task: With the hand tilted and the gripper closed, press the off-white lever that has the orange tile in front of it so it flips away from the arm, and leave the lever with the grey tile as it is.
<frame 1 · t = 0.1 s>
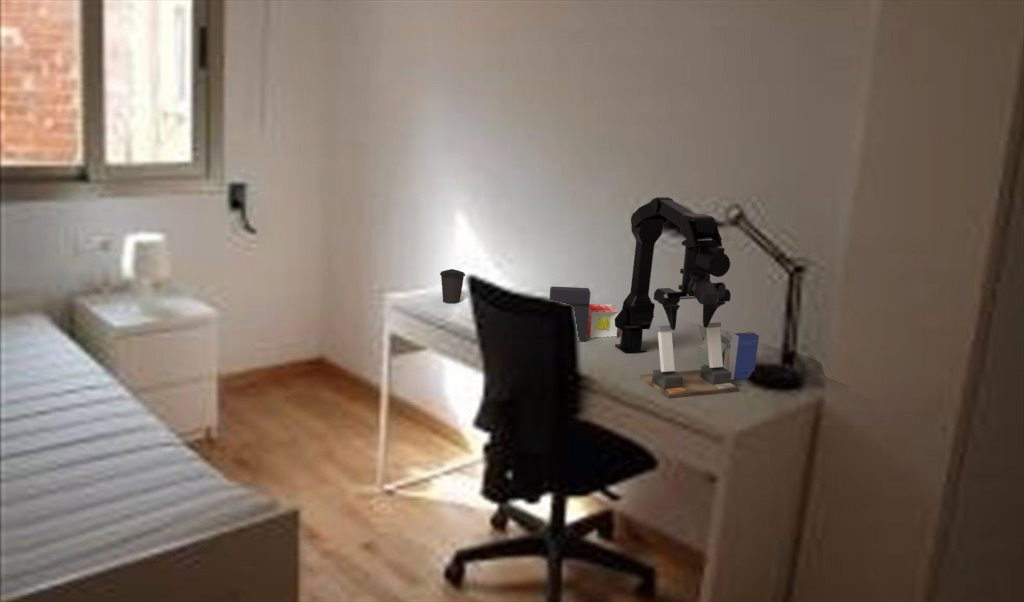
hand: (689, 328, 235), 15 cm above the table, tool pointing down, fingers open, 9 cm apart
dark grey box: (566, 340, 270), on the table
coffee cup: (451, 302, 302), on the table
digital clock: (719, 365, 256), on the table
switch board: (688, 384, 239), on the table
lever b: (714, 345, 240), point 10 cm above the table, hinge at -20.0°
lever a: (666, 348, 234), point 10 cm above the table, hinge at -20.0°
red and white cube: (599, 334, 277), on the table
walkman: (737, 378, 246), on the table
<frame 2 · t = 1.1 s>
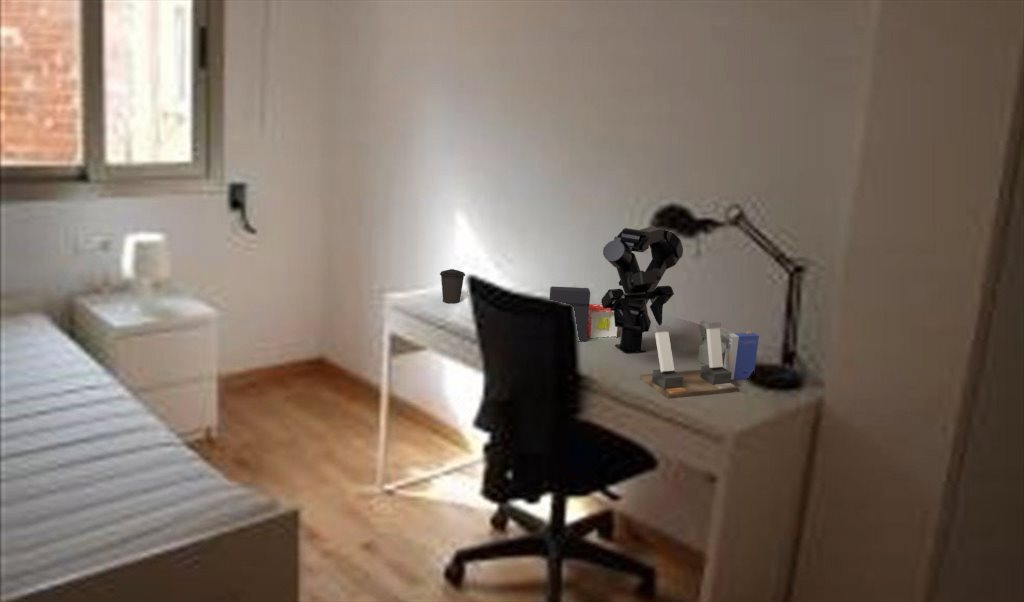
hand: (647, 325, 243), 12 cm above the table, tool tilted 45°, fingers open, 8 cm apart
lever a: (664, 348, 235), point 9 cm above the table, hinge at -28.2°
everything else where it was.
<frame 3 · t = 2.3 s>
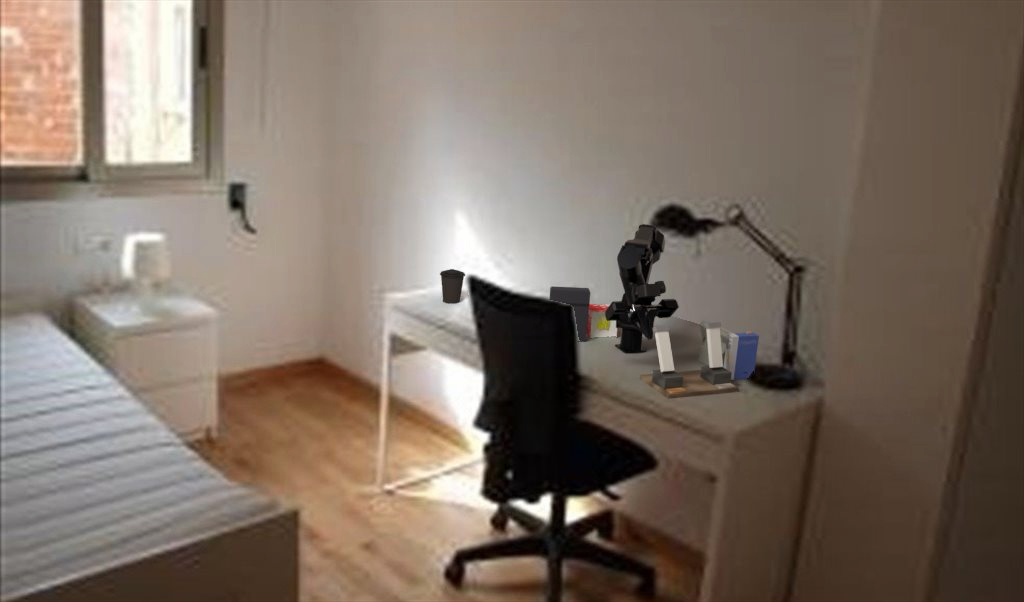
hand: (650, 338, 240), 10 cm above the table, tool tilted 45°, fingers closed
nothing on the table moved.
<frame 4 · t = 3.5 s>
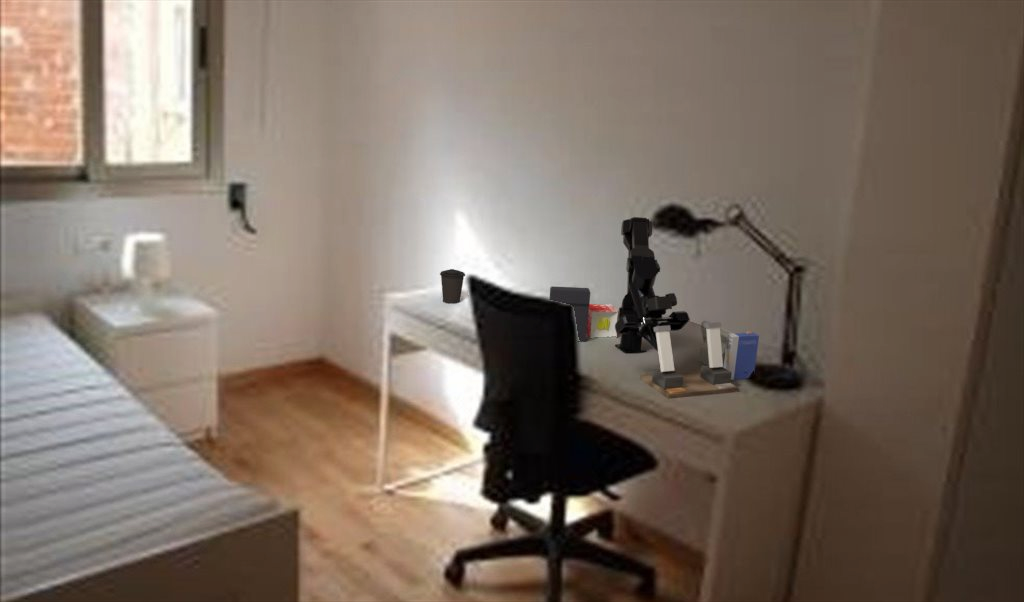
hand: (661, 352, 236), 8 cm above the table, tool tilted 45°, fingers closed, pressing on lever a
lever a: (664, 348, 235), point 9 cm above the table, hinge at -25.7°, touching gripper
everything else where it was.
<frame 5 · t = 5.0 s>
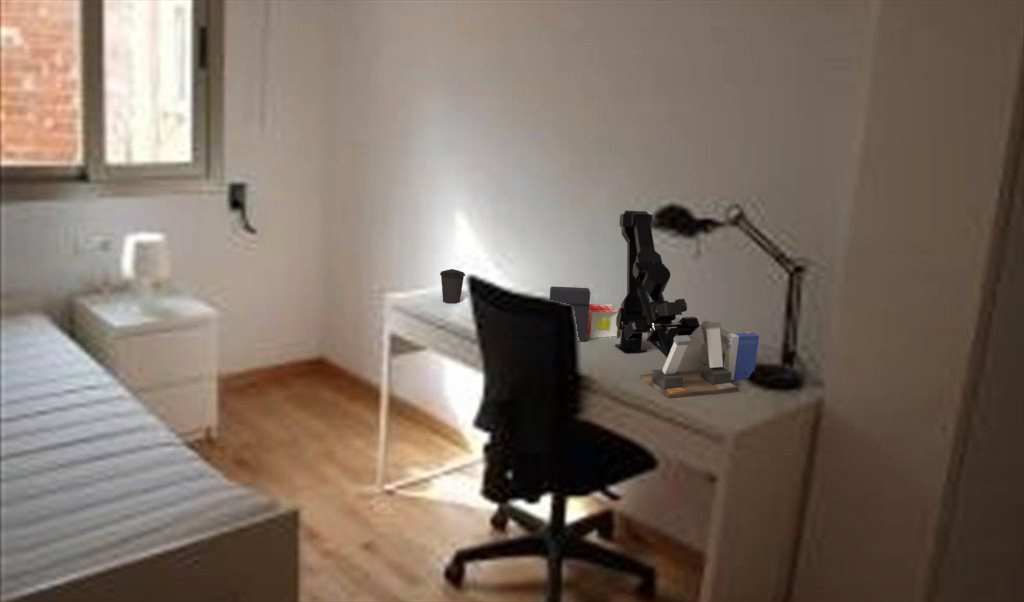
hand: (671, 359, 232), 8 cm above the table, tool tilted 45°, fingers closed, pressing on lever a
lever a: (675, 355, 230), point 10 cm above the table, hinge at 25.2°, touching gripper
everything else where it was.
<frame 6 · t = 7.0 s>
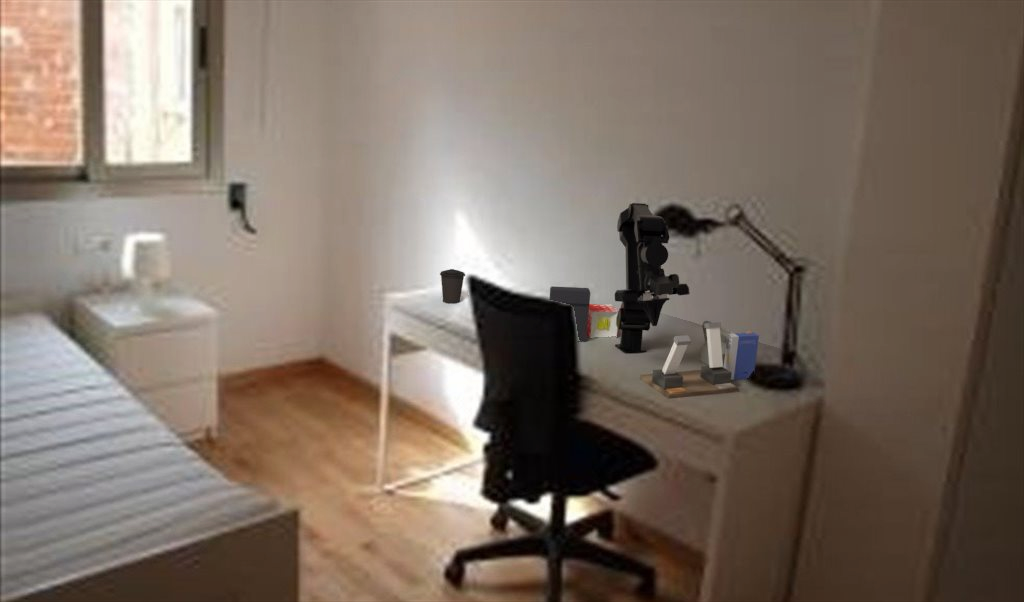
hand: (654, 326, 245), 12 cm above the table, tool pointing down, fingers closed
lever a: (675, 355, 230), point 10 cm above the table, hinge at 25.3°
everything else where it was.
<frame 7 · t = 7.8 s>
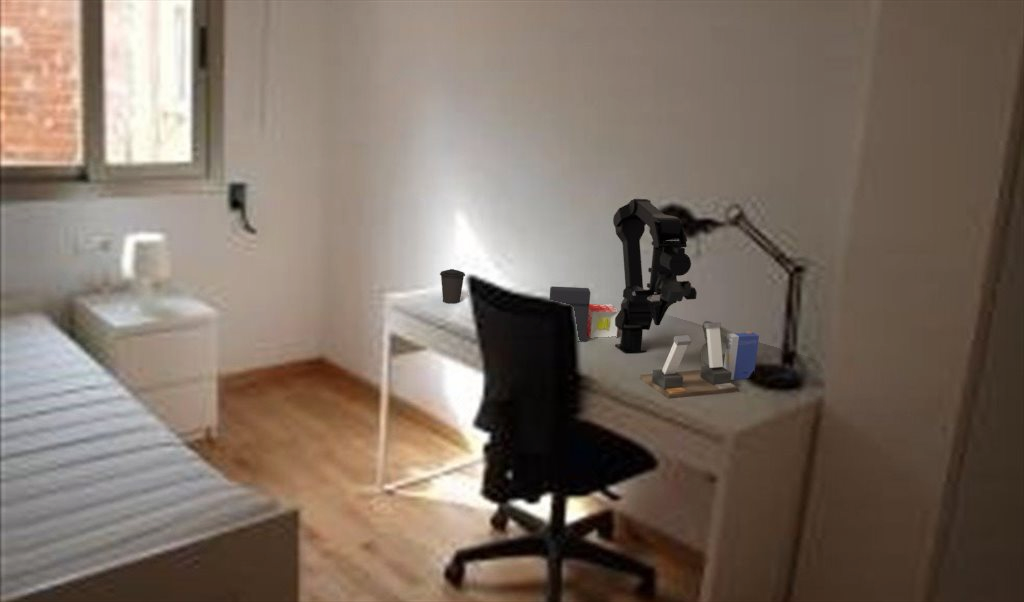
hand: (657, 324, 246), 12 cm above the table, tool pointing down, fingers closed
nothing on the table moved.
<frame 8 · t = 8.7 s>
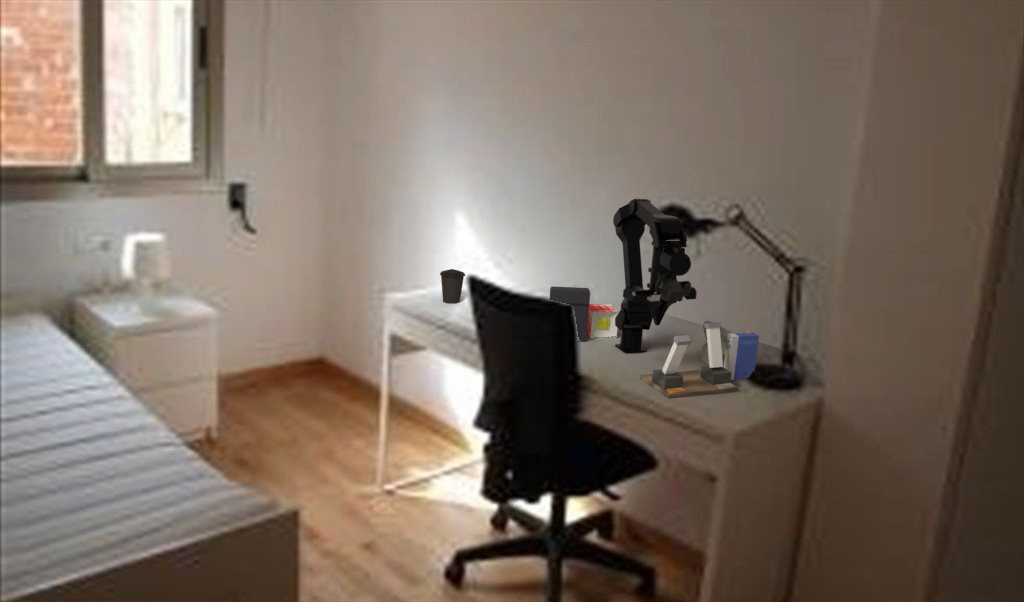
hand: (657, 324, 246), 12 cm above the table, tool pointing down, fingers closed
nothing on the table moved.
at the end: lever a at +25° (first picture: -20°); lever b at -20° (first picture: -20°) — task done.
